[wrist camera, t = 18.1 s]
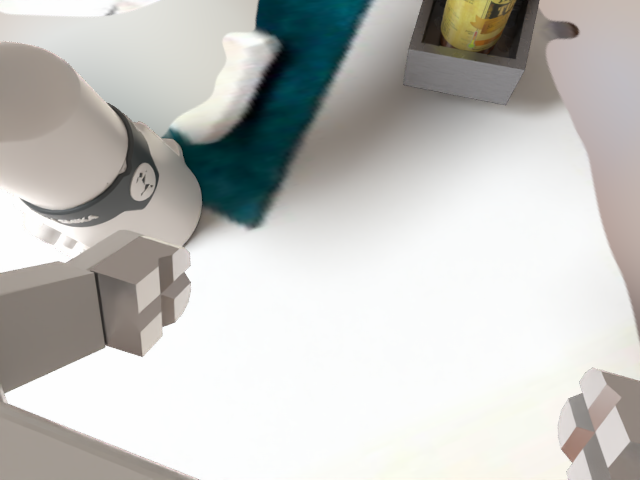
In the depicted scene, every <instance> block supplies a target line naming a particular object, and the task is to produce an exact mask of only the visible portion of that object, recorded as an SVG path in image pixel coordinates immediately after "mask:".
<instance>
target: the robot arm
mask: <svg viewBox="0 0 640 480" xmlns="http://www.w3.org/2000/svg"><path fill="white" fill-rule="evenodd" d="M0 189H2V190H4V191H6V192H8V193H11V194H13V202H14V205H15V207H16V208H17V209H19V210H21V211H23V228H24V230H25V231H27V232H28V233H30V234H31V235H33V236H34V237H36V238H38V239H40V240H42V241H43V242H45V243H47V244H48V245H50V246H52V247H54V248H55V249H57V250H59V251H60V252H62V253H64V254H65V255H67V256H69V257H71V258H72V259H71V260H70V261H68V262H66V263H62V262H59V261H58V262H53V263H48V264H43V265H38V266H33V267H28V268H23V269H18V270H13V271H8V272H3V273H0V480H199V479H197V478H194V477H192V476H189V475H186V474H184V473H181V472H179V471H176V470H174V469H171V468H169V467H166V466H164V465H161V464H159V463H156V462H154V461H151V460H149V459H146V458H144V457H141V456H139V455H136V454H133V453H131V452H128V451H126V450H123V449H121V448H118V447H116V446H113V445H111V444H108V443H106V442H103V441H101V440H98V439H96V438H93V437H91V436H88V435H86V434H83V433H80V432H78V431H75V430H73V429H70V428H68V427H65V426H63V425H60V424H58V423H55V422H53V421H50V420H48V419H45V418H43V417H40V416H38V415H35V414H33V413H30V412H27V411H25V410H22V409H20V408H17V407H15V406H12V405H10V404H8V403H7V400H6V397H5V394H4V393H6V392H9V391H11V390H13V389H15V388H17V387H20V386H22V385H24V384H26V383H28V382H31V381H33V380H35V379H37V378H39V377H42V376H44V375H46V374H48V373H50V372H53V371H55V370H57V369H59V368H61V367H64V366H66V365H68V364H70V363H72V362H75V361H77V360H79V359H81V358H83V357H85V356H88V355H90V354H92V353H94V352H96V351H99V350H101V349H103V348H105V345H106V346H109V347H113V348H116V349H119V350H122V351H125V352H128V353H132V354H135V355H138V356H141V357H143V356H144V355H145V354H146V353H147V352H148V351H149V350H150V349H151V348H152V346H153V345H154V344H155V343H156V342H157V341H158V340H159V339H160V338H161V337H162V327H164V326H166V325H169V324H172V323H175V322H176V321H177V320H178V318H179V317H180V316H181V315H182V314H183V312H184V310H185V308H186V306H187V304H188V302H189V297H190V292H191V282H190V281H189V279H188V277H187V276H186V274H185V273H184V272H185V271H186V270H187V269H188V268H189V267H190V252H189V251H188V250H187V249H186V248H184V247H182V246H183V245H184V244H185V243H186V241H187V240H188V239H189V238H190V236H191V235H192V233H193V231H194V230H195V228H196V226H197V223H198V221H199V218H200V214H201V208H202V195H201V190H200V186H199V183H198V181H197V179H196V177H195V176H194V174H193V173H192V172H191V170H190V169H189V168H188V167H187V165H186V164H185V162H184V157H183V153H182V149H181V147H180V145H179V144H178V143H177V142H176V141H175V140H173V139H163V138H160V137H159V136H158V135H157V134H156V133H155V132H154V131H152V130H151V129H150V128H149V127H148V126H147V125H146V124H144V123H143V122H140V121H139V122H137V123H136V122H132V121H131V120H130V119H129V118H128V117H127V116H126V115H125V114H124V113H122V112H121V111H119V110H118V109H117V108H116V107H114V106H113V105H111V104H109V103H107V102H105V101H104V100H103V99H102V98H101V97H100V96H99V95H98V94H97V93H96V92H95V91H94V90H93V88H92V87H91V86H90V85H89V84H88V83H87V82H86V81H85V80H84V79H83V78H82V77H81V76H80V75H79V74H78V73H77V72H76V71H75V70H74V69H73V68H72V67H71V66H70V65H69V64H68V63H67V62H66V61H65V60H63V59H62V58H60V57H59V56H57V55H56V54H54V53H51V52H50V51H48V50H45V49H43V48H40V47H36V46H33V45H28V44H22V43H16V42H6V41H0ZM579 384H580V387H581V390H582V393H581V394H579V395H576V396H574V397H571V398H568V400H567V402H566V403H565V405H564V407H563V408H562V410H561V413H560V418H559V422H558V438H559V443H560V447H561V450H562V451H563V452H564V453H565V455H566V456H567V457H568V458H569V459H570V461H571V462H572V464H571V466H570V467H569V469H568V470H567V471H566V472H567V476H568V480H640V381H638V380H635V379H631V378H628V377H624V376H621V375H617V374H614V373H610V372H607V371H603V370H600V369H596V368H591V369H590V370H588V371H587V372H585V374H584V375H583V377H582V378H581V380H580V381H579Z"/></svg>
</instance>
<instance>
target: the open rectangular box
mask: <svg viewBox="0 0 640 480" xmlns="http://www.w3.org/2000/svg"><path fill="white" fill-rule="evenodd" d="M446 1H447V0H423V2H422V6H421V9H420V12H419V16H418V19H417V22H416V26H415V29H414V32H413V36H412V39H411V42H410V46H409V49H408V56H407V63H406V69H405V76H404V83H403V85H406V86H411V87H416V88H421V89H426V90H432V91H437V92H442V93H447V94H452V95H457V96H462V97H467V98H472V99H477V100H482V101H487V102H492V103H497V104H502V105H506V103H507V102H508V100H509V98H510V96H511V94H512V92H513V91H514V89H515V87H516V85H517V83H518V82H519V80H520V78H521V76H522V74H523V72H524V71H525V67H526V62H527V57H528V52H529V48H530V43H531V38H532V33H533V29H534V24H535V19H536V14H537V10H538V4H539V0H516V2H515V4H514V6H513V8H512V11H511V13H510V16H509V18H508V20H507V23H506V25H505V27H504V30H503V32H502V34H501V37H500V38H499V40H498V41H497V42H496V44H495V46H494V48H493V50H492V51H490V52H489V54H482V53H477V52H471V51H466V50H460V49H454V48H449V47H443V46H441V43H440V32H441V22H442V18H443V13H444V9H445V5H446Z"/></svg>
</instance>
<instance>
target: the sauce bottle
mask: <svg viewBox="0 0 640 480" xmlns="http://www.w3.org/2000/svg"><path fill="white" fill-rule="evenodd" d="M515 2H516V0H447V1H446V5H445V9H444V13H443V18H442V22H441V32H440V43H441V46H443V47H449V48H454V49H460V50H466V51H471V52H477V53H482V54H489V52H490V51H492V50H493V48H494V46H495V44H496V42H497V41H498V40H499V38H500V37H501V34H502V32H503V30H504V27H505V25H506V23H507V20H508V18H509V16H510V13H511V11H512V8H513V6H514V4H515Z"/></svg>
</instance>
